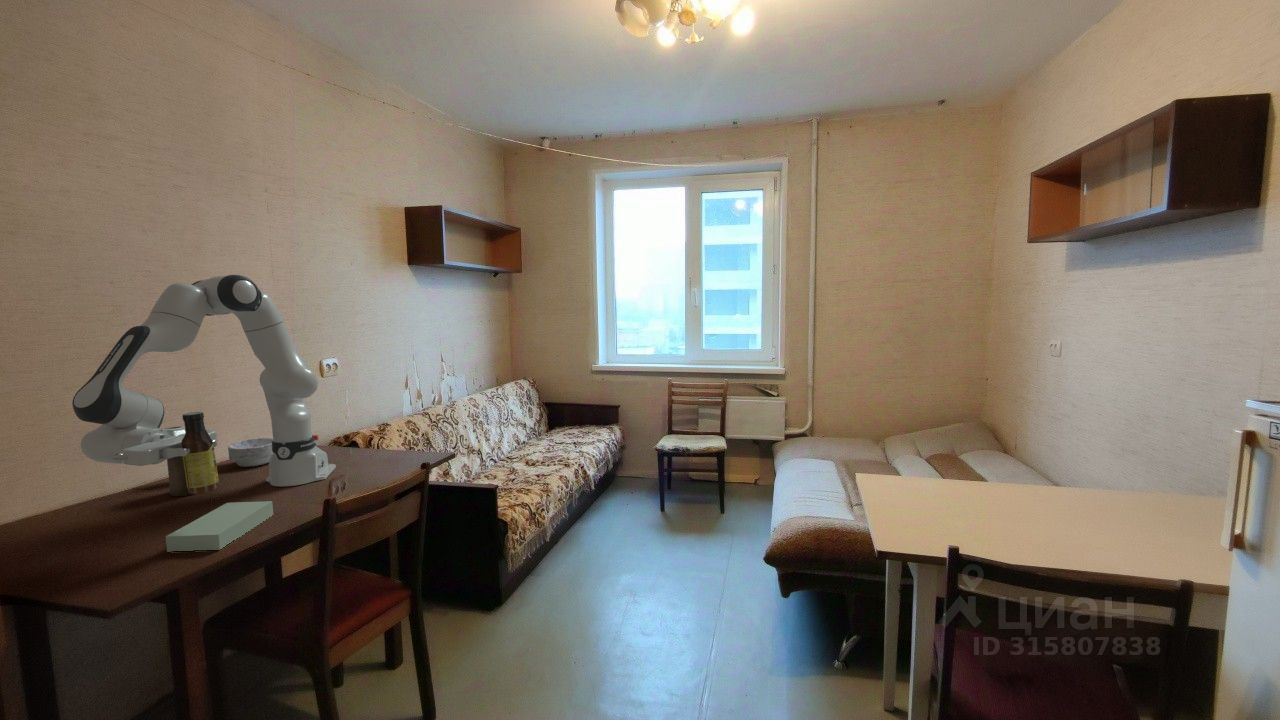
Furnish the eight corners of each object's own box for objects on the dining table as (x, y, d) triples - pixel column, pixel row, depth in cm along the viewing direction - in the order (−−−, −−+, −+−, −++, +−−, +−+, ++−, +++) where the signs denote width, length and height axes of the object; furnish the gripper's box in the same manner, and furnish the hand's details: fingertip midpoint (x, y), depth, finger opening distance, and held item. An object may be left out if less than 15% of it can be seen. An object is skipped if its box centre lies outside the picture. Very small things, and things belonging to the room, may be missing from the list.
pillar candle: (208, 492, 172) (204, 445, 171) (167, 499, 167) (163, 450, 165) (210, 484, 180) (206, 440, 179) (172, 490, 175) (167, 444, 173)
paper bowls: (255, 470, 195) (254, 448, 194) (218, 468, 197) (216, 447, 196) (289, 458, 210) (287, 437, 209) (254, 456, 212) (253, 436, 211)
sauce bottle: (224, 488, 138) (216, 411, 136) (196, 497, 133) (187, 417, 130) (209, 485, 141) (201, 409, 138) (181, 493, 135) (171, 414, 133)
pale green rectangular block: (228, 516, 153) (227, 502, 152) (273, 514, 154) (272, 501, 153) (167, 552, 131) (165, 536, 131) (220, 550, 132) (218, 534, 131)
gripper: (105, 445, 126) (159, 446, 125) (186, 424, 146) (234, 425, 145) (108, 471, 127) (162, 473, 125) (188, 447, 147) (236, 448, 146)
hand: (201, 447), depth 135 cm, fingers closed on sauce bottle, 6 cm apart
